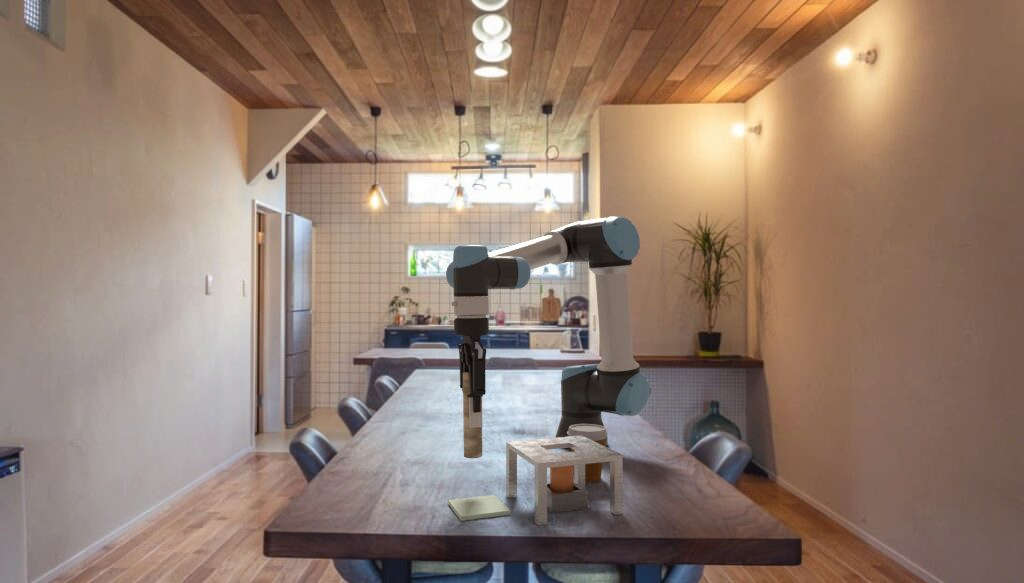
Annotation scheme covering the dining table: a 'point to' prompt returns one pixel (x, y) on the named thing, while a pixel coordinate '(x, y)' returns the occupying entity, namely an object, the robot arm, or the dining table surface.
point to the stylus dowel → (470, 434)
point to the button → (562, 478)
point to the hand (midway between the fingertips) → (472, 424)
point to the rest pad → (478, 507)
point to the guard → (544, 459)
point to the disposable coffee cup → (596, 435)
